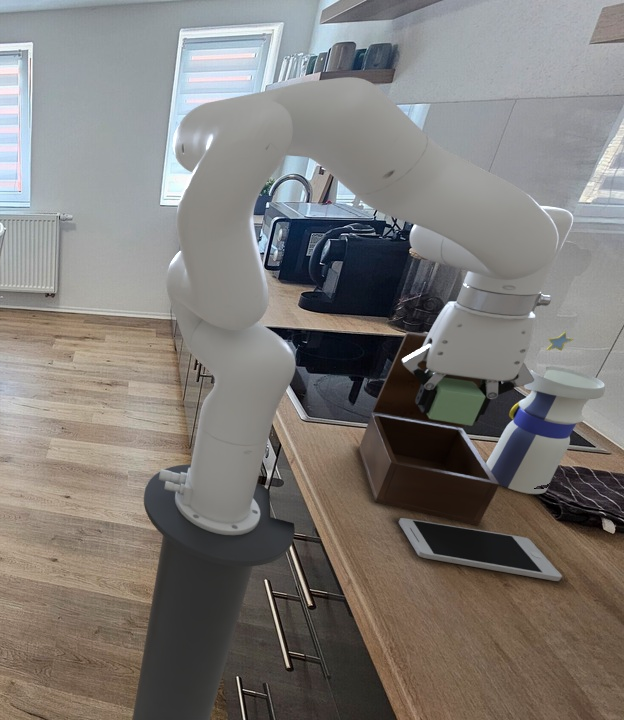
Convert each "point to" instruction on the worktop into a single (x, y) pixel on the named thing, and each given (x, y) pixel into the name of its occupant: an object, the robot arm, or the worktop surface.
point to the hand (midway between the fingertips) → (446, 411)
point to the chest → (426, 468)
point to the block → (456, 401)
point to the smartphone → (478, 549)
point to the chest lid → (408, 384)
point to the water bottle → (542, 426)
